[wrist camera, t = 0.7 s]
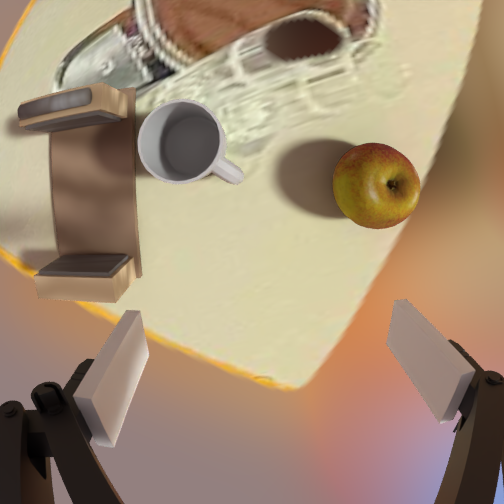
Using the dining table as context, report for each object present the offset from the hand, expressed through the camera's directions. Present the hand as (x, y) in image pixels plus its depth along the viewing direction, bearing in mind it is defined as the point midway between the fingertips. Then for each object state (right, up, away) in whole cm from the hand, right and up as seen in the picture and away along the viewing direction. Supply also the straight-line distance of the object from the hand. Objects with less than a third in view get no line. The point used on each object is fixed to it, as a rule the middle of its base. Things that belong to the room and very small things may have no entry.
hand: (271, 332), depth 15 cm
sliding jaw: (-19, +20, +14) cm, 31 cm away
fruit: (+12, +12, +19) cm, 26 cm away
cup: (-6, +15, +18) cm, 24 cm away
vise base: (-20, +12, +18) cm, 29 cm away
